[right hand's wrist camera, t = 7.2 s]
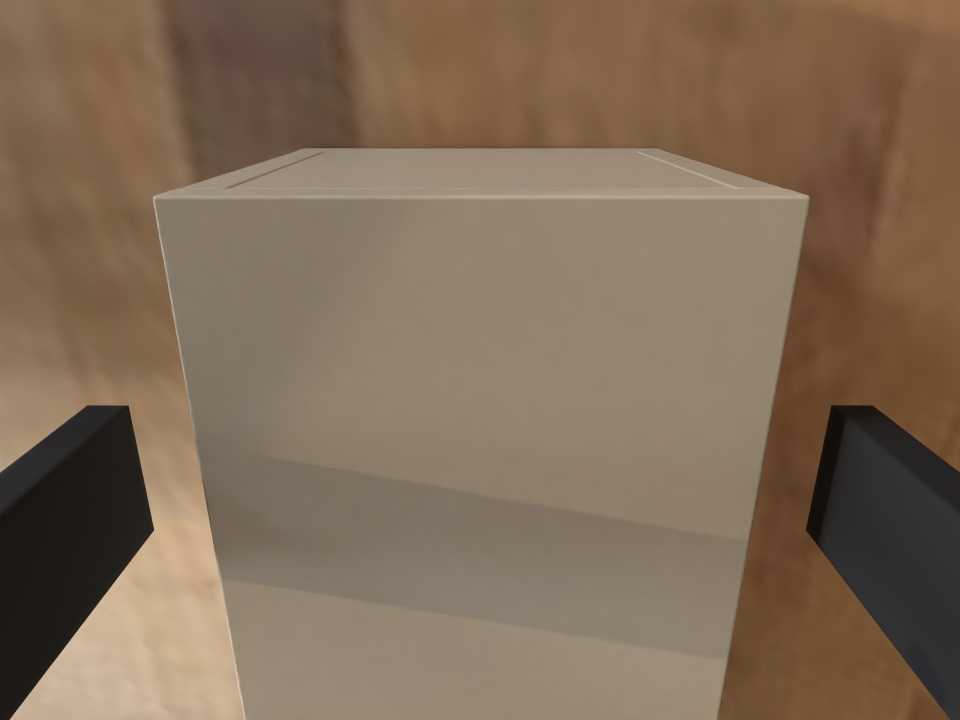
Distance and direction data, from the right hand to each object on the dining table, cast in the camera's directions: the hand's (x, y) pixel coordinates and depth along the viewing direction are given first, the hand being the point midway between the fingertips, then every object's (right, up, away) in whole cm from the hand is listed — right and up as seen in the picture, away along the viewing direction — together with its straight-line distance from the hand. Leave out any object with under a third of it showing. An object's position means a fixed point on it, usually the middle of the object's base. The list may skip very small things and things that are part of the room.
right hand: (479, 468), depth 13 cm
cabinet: (0, -1, +9) cm, 9 cm away
